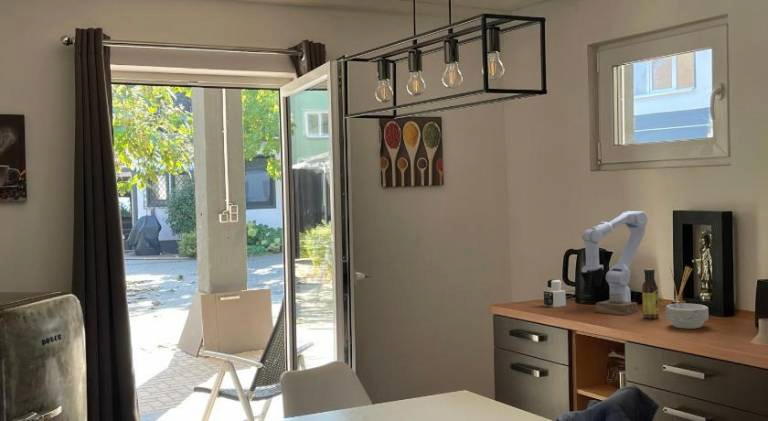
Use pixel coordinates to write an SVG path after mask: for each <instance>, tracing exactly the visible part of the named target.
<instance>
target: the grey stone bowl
mask: <svg viewBox="0 0 768 421" xmlns="http://www.w3.org/2000/svg"><path fill="white" fill-rule="evenodd" d="M665 312H666V313H665V314H666V317H665V318H666V320H668V321H670V322H671V324H672V326H674V327H675V328H678V329H683V328H684V330H691V329H692V330H693V329H695V330H696V329H700V328H702V327H703V325H704V323H705V322H706V321H708V320H709V307H708V306H706V305H703V304H699V303H697V304H696V303H671V304H667V305H666V306H665Z"/></svg>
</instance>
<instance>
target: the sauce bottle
mask: <svg viewBox="0 0 768 421" xmlns="http://www.w3.org/2000/svg"><path fill="white" fill-rule="evenodd" d="M643 272H644V282H643V283H642V287H641V289H642V294H641V296H642V297H641V299H642V316H643V318H645V319H658V318H660V317H659V316H660V315H659V314H660V310H659V309H660V304H659V303H660V301H659V287H658V285H657V282H656V280H655V273H656V271H655V269H654V268H647V269H643Z"/></svg>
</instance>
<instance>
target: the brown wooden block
mask: <svg viewBox="0 0 768 421" xmlns="http://www.w3.org/2000/svg"><path fill="white" fill-rule="evenodd" d="M595 313H602V314H611V315H619V316H620V315H621V316H627V315H631V314H634V313H638V302H635V301H634V302H632V301H631V302H625V301H622V304H617V303H610V299H608V300H607V299H606V300H604V301H599V302H595Z"/></svg>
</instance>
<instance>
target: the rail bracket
mask: <svg viewBox="0 0 768 421" xmlns="http://www.w3.org/2000/svg"><path fill="white" fill-rule="evenodd" d="M608 293H609V296H608V297H609V300H610V303H617V304H622V294H619V293H610V292H608Z"/></svg>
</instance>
